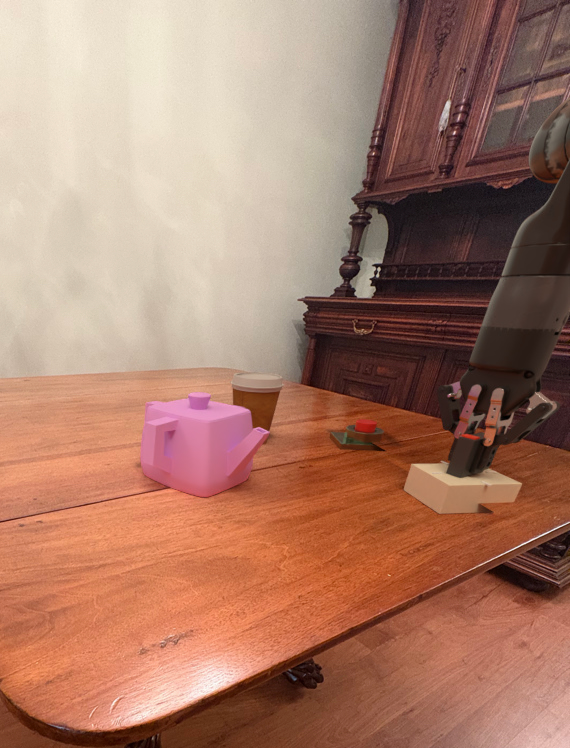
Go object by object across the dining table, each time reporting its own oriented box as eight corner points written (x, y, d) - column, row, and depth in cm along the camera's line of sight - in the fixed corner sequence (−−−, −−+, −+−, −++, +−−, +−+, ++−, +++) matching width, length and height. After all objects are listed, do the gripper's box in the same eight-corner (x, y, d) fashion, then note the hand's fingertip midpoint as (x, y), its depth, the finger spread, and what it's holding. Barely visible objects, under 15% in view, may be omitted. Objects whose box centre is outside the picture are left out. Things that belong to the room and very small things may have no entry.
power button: (371, 428, 82) (373, 419, 81) (377, 433, 78) (380, 424, 78) (351, 428, 82) (354, 418, 81) (357, 433, 79) (359, 423, 78)
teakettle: (141, 458, 72) (140, 382, 66) (240, 459, 73) (248, 383, 67) (138, 499, 58) (136, 406, 51) (262, 500, 58) (275, 407, 52)
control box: (463, 486, 63) (474, 460, 61) (513, 513, 56) (527, 484, 53) (400, 488, 63) (409, 461, 60) (442, 516, 55) (453, 486, 53)
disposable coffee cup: (258, 432, 87) (266, 370, 81) (284, 446, 80) (295, 378, 74) (216, 436, 85) (222, 372, 79) (240, 450, 77) (247, 381, 71)
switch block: (380, 439, 84) (384, 424, 83) (395, 452, 78) (400, 436, 76) (329, 437, 85) (332, 422, 84) (339, 449, 78) (343, 433, 77)
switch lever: (467, 467, 59) (482, 430, 56) (482, 472, 57) (498, 433, 55) (445, 473, 57) (459, 434, 54) (460, 478, 55) (475, 438, 53)
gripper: (442, 321, 52) (401, 457, 61) (578, 327, 41) (505, 492, 50) (478, 321, 55) (434, 451, 64) (614, 327, 44) (539, 482, 53)
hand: (466, 468), depth 57 cm, fingers closed on switch lever, 2 cm apart
